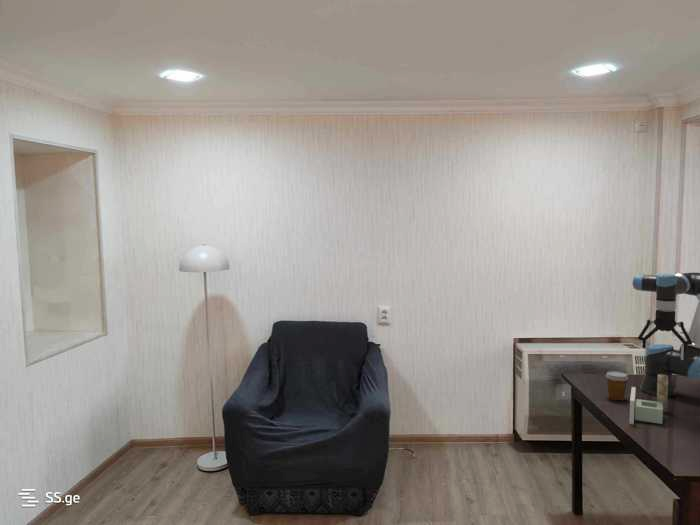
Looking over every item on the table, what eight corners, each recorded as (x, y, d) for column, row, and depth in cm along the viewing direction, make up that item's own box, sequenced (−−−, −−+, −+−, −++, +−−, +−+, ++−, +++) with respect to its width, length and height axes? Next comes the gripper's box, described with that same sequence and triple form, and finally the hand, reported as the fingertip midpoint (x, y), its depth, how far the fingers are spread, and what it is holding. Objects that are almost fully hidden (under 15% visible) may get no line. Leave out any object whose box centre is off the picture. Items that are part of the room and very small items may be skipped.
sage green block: (661, 416, 226) (662, 402, 225) (662, 424, 217) (662, 410, 217) (635, 412, 231) (636, 398, 230) (634, 419, 222) (635, 406, 222)
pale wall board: (635, 408, 235) (635, 387, 235) (633, 424, 218) (634, 401, 217) (631, 408, 236) (631, 386, 235) (629, 423, 219) (630, 400, 218)
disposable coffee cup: (625, 396, 252) (626, 371, 251) (629, 402, 243) (630, 377, 242) (604, 394, 255) (604, 370, 254) (606, 400, 246) (607, 375, 245)
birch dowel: (662, 408, 235) (663, 374, 234) (669, 412, 231) (670, 376, 230) (654, 409, 235) (655, 374, 233) (660, 412, 231) (662, 377, 229)
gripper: (699, 310, 226) (696, 358, 228) (633, 306, 238) (631, 352, 240) (700, 313, 219) (698, 363, 221) (632, 309, 232) (631, 356, 234)
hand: (663, 357), depth 231 cm, fingers open, 13 cm apart
